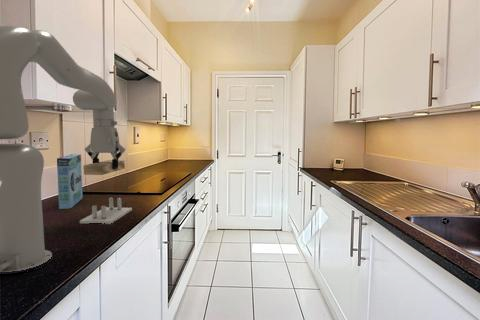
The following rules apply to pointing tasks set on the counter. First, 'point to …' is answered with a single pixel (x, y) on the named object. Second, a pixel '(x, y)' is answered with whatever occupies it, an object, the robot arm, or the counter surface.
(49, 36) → the robot arm
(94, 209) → the peg stand
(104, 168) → the oak shelf board
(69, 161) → the light blue carton
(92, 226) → the counter surface
